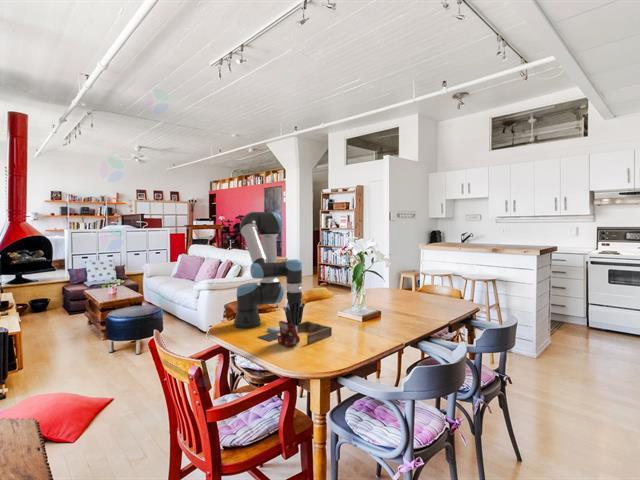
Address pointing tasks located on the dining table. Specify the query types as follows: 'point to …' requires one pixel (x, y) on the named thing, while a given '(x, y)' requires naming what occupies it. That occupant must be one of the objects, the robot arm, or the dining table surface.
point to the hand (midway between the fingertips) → (294, 338)
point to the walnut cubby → (315, 331)
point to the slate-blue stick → (273, 330)
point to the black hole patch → (269, 337)
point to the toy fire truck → (287, 334)
